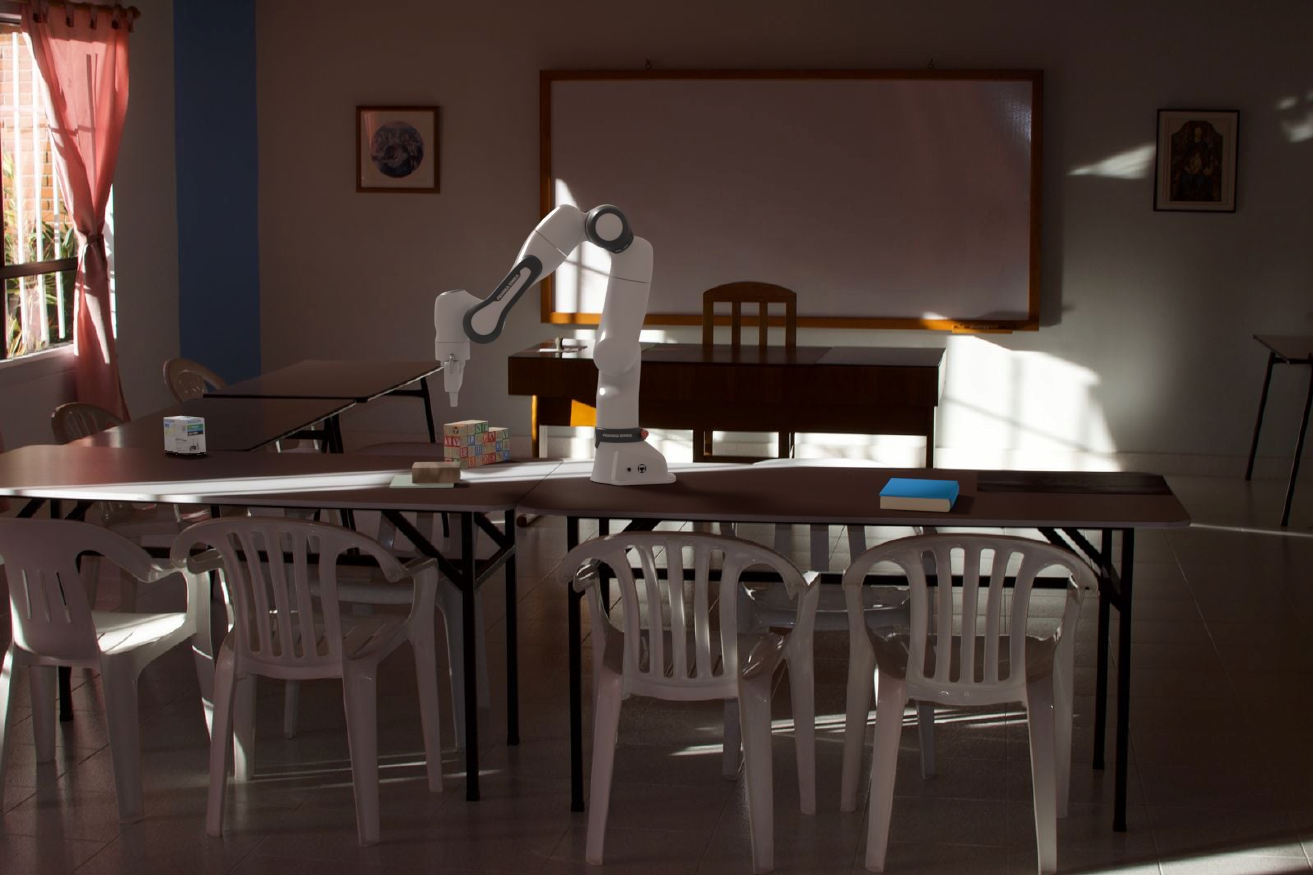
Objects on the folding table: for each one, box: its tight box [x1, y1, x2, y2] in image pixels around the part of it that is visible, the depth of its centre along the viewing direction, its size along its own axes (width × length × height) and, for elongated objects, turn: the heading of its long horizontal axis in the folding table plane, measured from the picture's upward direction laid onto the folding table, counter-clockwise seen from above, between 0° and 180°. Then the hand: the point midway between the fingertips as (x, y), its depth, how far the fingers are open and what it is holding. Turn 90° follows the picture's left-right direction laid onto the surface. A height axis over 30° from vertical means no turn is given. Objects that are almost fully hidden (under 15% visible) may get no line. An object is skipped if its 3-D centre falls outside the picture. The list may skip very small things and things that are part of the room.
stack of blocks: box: [443, 419, 511, 469], centre depth 414 cm, size 21×6×12 cm, turn 146°
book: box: [878, 477, 960, 513], centre depth 355 cm, size 17×4×25 cm
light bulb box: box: [163, 415, 207, 453], centre depth 432 cm, size 11×7×11 cm, turn 58°
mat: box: [389, 474, 455, 489], centre depth 381 cm, size 16×18×1 cm
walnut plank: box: [411, 461, 462, 484], centre depth 381 cm, size 4×10×12 cm
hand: (454, 406), depth 379 cm, fingers closed
